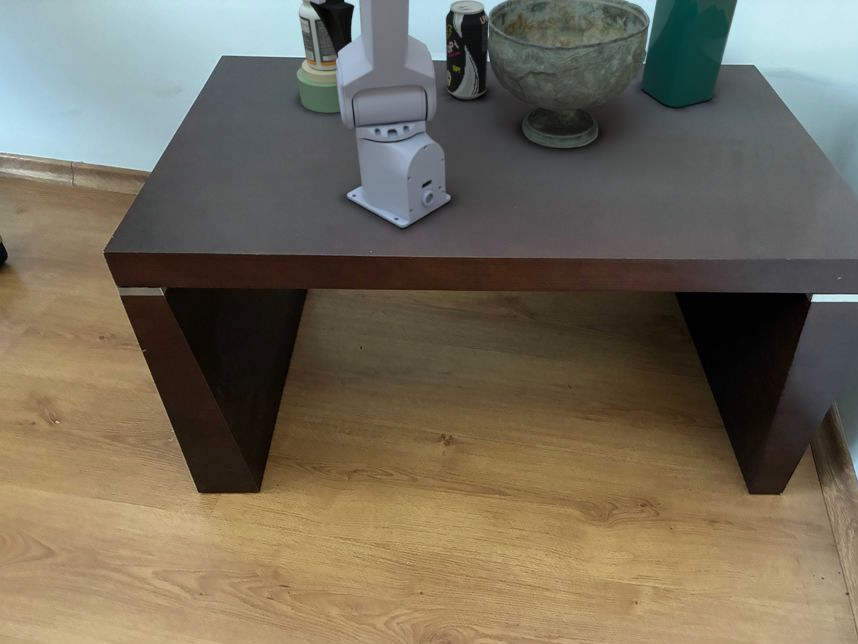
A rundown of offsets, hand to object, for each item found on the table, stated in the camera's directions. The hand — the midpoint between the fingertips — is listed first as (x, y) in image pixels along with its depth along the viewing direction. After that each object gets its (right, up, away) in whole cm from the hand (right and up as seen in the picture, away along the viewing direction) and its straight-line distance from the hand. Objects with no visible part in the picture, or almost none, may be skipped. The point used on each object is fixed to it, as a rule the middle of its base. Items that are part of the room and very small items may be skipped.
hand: (368, 49), depth 88 cm
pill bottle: (-7, +2, +10) cm, 13 cm away
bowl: (+24, -8, +7) cm, 26 cm away
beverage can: (+12, 0, +15) cm, 19 cm away
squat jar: (-7, -1, +14) cm, 15 cm away
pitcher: (+43, -1, +15) cm, 45 cm away
